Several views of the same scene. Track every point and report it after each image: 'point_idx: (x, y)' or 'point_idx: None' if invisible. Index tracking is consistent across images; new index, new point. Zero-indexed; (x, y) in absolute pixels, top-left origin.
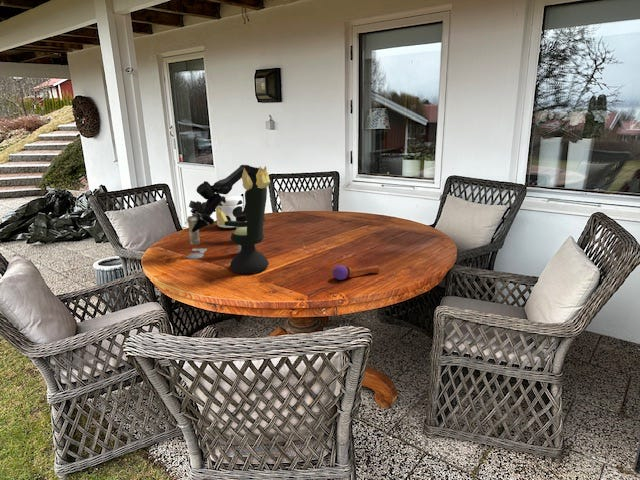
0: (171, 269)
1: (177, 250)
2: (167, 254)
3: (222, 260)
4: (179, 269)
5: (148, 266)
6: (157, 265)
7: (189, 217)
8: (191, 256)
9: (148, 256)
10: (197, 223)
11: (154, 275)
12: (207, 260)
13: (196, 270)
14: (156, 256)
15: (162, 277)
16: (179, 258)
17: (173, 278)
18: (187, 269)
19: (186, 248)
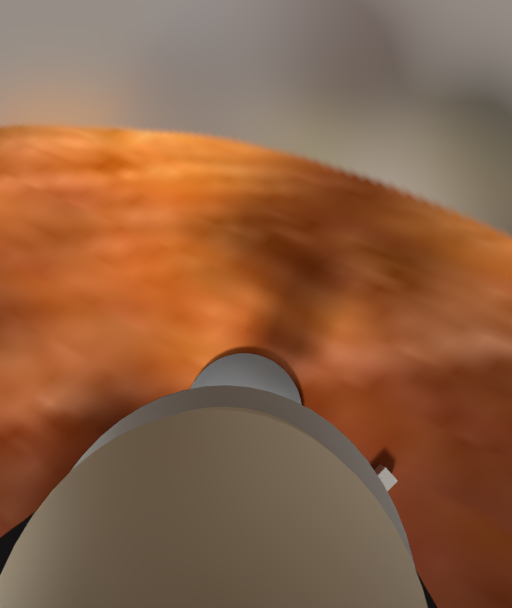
0: (142, 210)
1: (471, 391)
2: (422, 303)
3: (15, 508)
4: (107, 237)
5: (279, 154)
6: (260, 188)
7: (196, 473)
8: (243, 383)
9: (457, 212)
10: (2, 547)
11: (132, 130)
12: (104, 429)
13: (13, 290)
14: (426, 242)
15: (77, 142)
16: (286, 320)
17: (21, 168)
18: (70, 265)
19: (481, 466)
